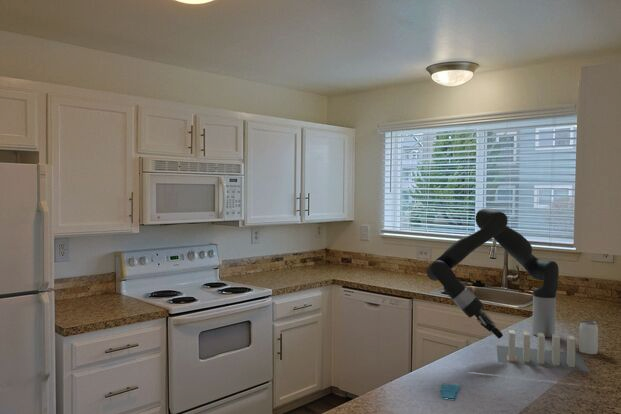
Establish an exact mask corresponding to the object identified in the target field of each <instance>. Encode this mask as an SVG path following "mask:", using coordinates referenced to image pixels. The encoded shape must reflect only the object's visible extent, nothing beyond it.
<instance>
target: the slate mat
mask: <svg viewBox="0 0 621 414" xmlns="http://www.w3.org/2000/svg"><path fill="white" fill-rule="evenodd" d="M508 351H509V345H508V346H507V345H498V344H497V345H496V354H497V363H504V364H514V365H522V366H532V367H541V368H550V369H559V370H560V369H561V370H569V371H579V372H587V373H589V372H590V371H589V369H588V367H587V366H586V364H585V362H584V360H583V358H582V357H581V355H580V353H578V352H575V367H569V366H568V364H567V351H560V364H559V365H553V363H552V350H549V349H545V358H544V364H540V363H538V360H537V348H530V362H524V361H523V347H520V346H519V347H517V346H515V361H514V360H509V357H508Z"/></svg>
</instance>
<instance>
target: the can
mask: <svg viewBox="0 0 621 414" xmlns="http://www.w3.org/2000/svg"><path fill="white" fill-rule="evenodd" d="M578 330H579V331H578V333H579V334H578V352H580V353H583V354H587V355H596V354H598V349H599V348H598V344H599V342H598V341H599V326H598V323H597V322H596V321H591V320H582V321H581V320H580V324H579V329H578Z"/></svg>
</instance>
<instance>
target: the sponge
mask: <svg viewBox="0 0 621 414" xmlns="http://www.w3.org/2000/svg"><path fill="white" fill-rule="evenodd" d="M441 388H442V390H441V389H440V394H441V395H442V396H441V399H442V398H448V399H455V397H456V398H457V396H458V394H457V392H458V393H459V391H460V389H461V385H457V384H451V383H442V384H441ZM459 388H460V389H459ZM458 390H459V391H458ZM456 395H457V396H456ZM448 399H447V400H448ZM455 400H456V399H455Z"/></svg>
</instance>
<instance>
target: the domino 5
mask: <svg viewBox="0 0 621 414" xmlns="http://www.w3.org/2000/svg"><path fill="white" fill-rule="evenodd" d="M566 352H567V364H568V366H569V367H575V353H576V338H575V336H574V335H570V334H569V335H568V334H567V336H566Z"/></svg>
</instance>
